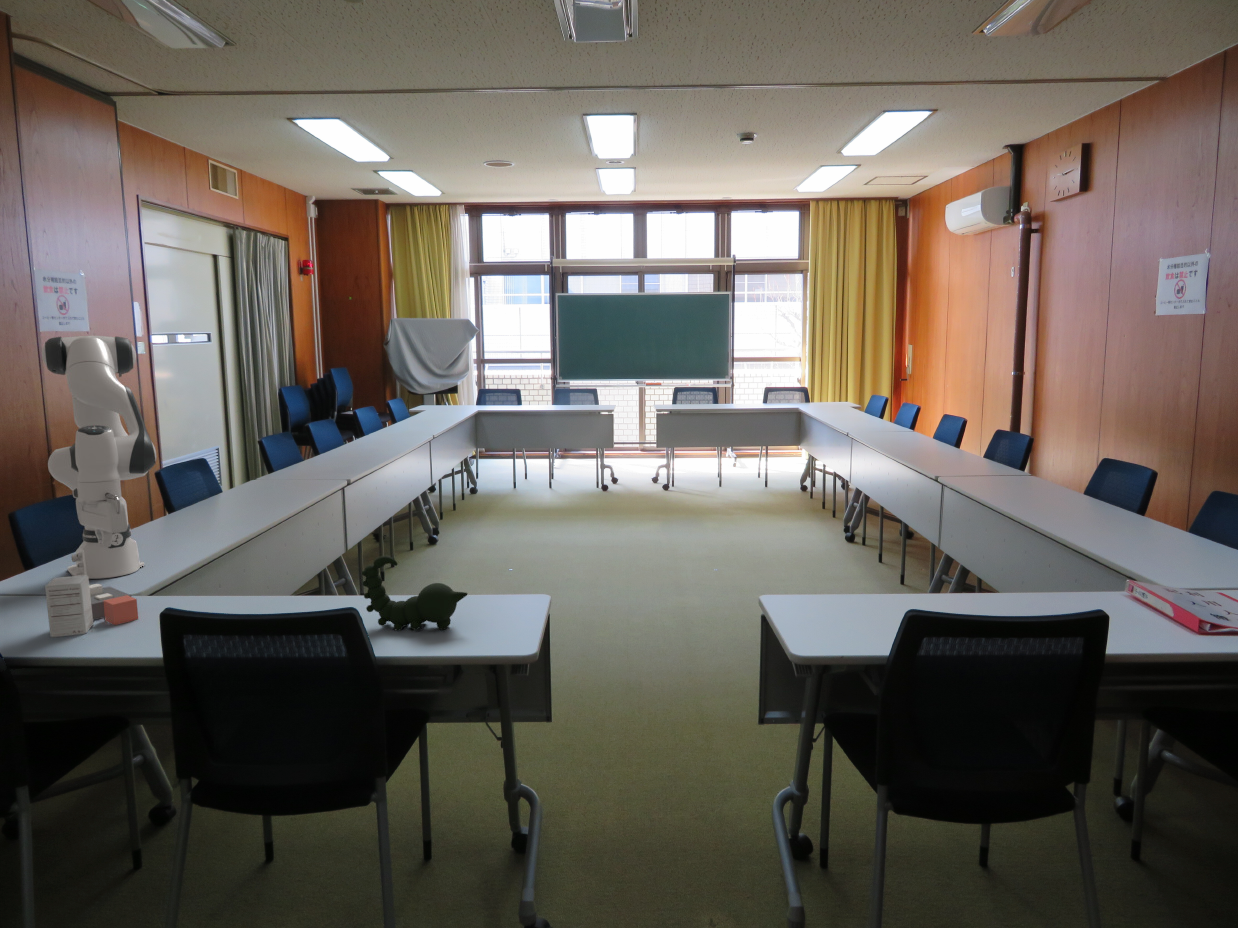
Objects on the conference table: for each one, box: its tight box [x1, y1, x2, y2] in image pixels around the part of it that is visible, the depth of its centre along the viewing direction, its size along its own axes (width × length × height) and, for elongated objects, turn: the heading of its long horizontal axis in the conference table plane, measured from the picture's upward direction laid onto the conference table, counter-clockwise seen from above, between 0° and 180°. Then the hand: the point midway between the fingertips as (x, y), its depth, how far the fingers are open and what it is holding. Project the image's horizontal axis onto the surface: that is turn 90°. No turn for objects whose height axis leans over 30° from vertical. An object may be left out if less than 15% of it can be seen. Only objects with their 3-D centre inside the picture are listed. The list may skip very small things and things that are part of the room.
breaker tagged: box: [95, 593, 113, 601], centre depth 204 cm, size 3×3×4 cm
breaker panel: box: [90, 586, 132, 621], centre depth 206 cm, size 13×10×4 cm
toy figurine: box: [361, 555, 468, 632], centre depth 192 cm, size 9×19×25 cm
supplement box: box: [44, 575, 94, 638], centre depth 190 cm, size 7×7×13 cm
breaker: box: [89, 583, 104, 596], centre depth 207 cm, size 3×3×4 cm
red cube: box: [103, 595, 139, 626], centre depth 199 cm, size 5×5×5 cm
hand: (105, 546), depth 199 cm, fingers closed
